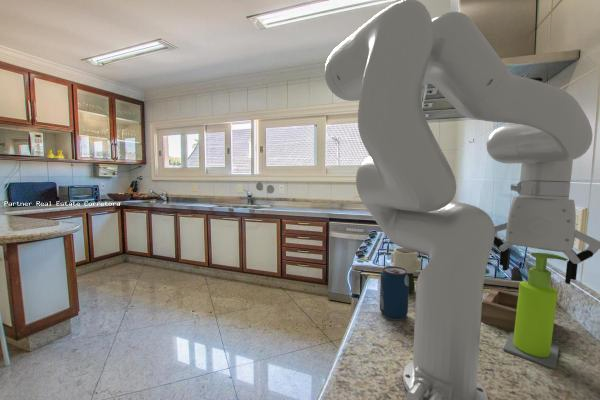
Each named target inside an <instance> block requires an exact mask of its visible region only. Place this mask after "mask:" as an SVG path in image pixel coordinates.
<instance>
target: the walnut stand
mask: <svg viewBox="0 0 600 400" xmlns="http://www.w3.org/2000/svg"><path fill="white" fill-rule="evenodd" d="M517 302H518V293H515V292H510V291H507V290H502V289H498V288H492V289H491V291H490V292H489V293H488V294H487V295H486V297H485V298H484V299H482V313H481V323H485V324H488V325H491V326H493V327H496V328H500V329H503V330H507V331H509V332H514V328H515V320H516V311H517Z"/></svg>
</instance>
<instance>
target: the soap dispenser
mask: <svg viewBox="0 0 600 400" xmlns="http://www.w3.org/2000/svg"><path fill="white" fill-rule="evenodd" d="M530 256H531V257H533V258H535V264H534V266H532V267H529V268H528V277H527V281H521V282H519V285H518V293H517V294H518V302H517V311H516V320H515V328H514V337H513V344H514V346H515V347H517V348H518V349H519V350H521V351H523V352H525V353H527V354H530V355H533V356H537V357H549V356H550V350H551V344H552V340H553V332H554V325H555V317H556V309H557V303H558V302H557V300H558V294H559V293H558V292H559V291H558V290H557V289H556V288H554V287H552V286H551V277H552V272H551V271H550V270H549V269H547V264H548V259H550V260H551V259H556V260H560V261H565V262H567V261H569V258H566V257H563V256H561V255H558V254H554V253H551V252H550V253H549V252H531V253H530Z"/></svg>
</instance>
